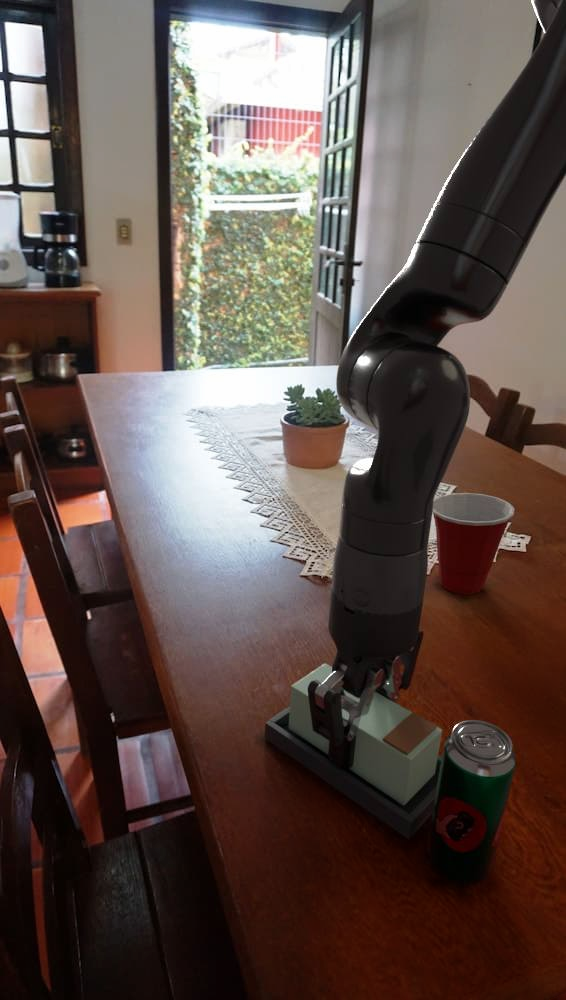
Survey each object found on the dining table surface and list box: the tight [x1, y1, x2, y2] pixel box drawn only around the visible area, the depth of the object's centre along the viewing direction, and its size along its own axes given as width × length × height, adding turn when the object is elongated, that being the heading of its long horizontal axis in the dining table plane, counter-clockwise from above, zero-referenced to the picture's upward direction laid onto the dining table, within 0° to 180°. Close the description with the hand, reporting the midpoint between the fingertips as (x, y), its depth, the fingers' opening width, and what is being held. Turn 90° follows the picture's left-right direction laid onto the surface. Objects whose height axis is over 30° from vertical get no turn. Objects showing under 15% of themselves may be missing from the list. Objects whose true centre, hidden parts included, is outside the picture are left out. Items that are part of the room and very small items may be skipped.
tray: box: [264, 705, 442, 841], centre depth 62 cm, size 8×16×2 cm, turn 47°
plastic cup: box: [432, 492, 515, 595], centre depth 92 cm, size 11×11×12 cm
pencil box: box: [289, 662, 443, 806], centre depth 61 cm, size 13×5×5 cm, turn 48°
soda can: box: [426, 719, 517, 885], centre depth 51 cm, size 5×5×12 cm
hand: (359, 747), depth 62 cm, fingers closed on pencil box, 5 cm apart
